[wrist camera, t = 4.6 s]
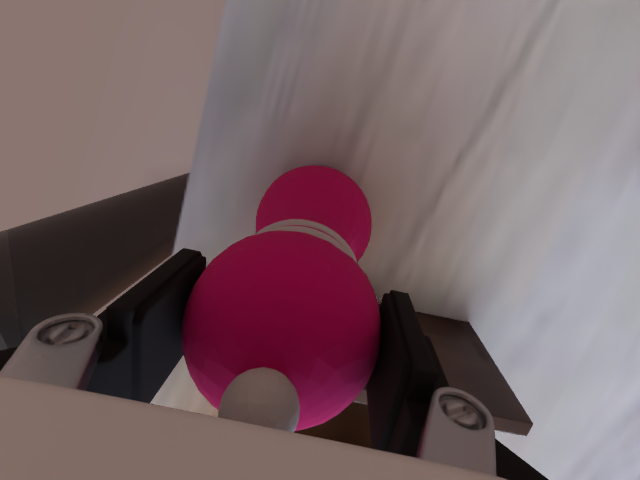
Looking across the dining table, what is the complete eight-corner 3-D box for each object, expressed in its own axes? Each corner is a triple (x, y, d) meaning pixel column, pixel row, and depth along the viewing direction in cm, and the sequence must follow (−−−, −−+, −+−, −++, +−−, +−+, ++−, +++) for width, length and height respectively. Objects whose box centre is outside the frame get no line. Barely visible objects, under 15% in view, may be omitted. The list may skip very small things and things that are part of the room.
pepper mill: (385, 189, 25) (521, 401, 6) (336, 267, 27) (321, 601, 8) (298, 140, 24) (135, 199, 5) (256, 224, 26) (33, 480, 7)
